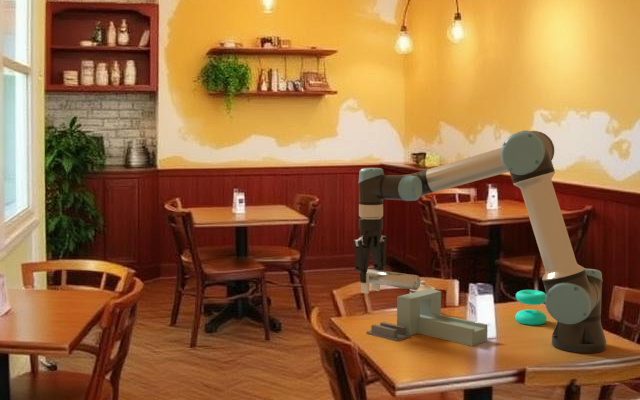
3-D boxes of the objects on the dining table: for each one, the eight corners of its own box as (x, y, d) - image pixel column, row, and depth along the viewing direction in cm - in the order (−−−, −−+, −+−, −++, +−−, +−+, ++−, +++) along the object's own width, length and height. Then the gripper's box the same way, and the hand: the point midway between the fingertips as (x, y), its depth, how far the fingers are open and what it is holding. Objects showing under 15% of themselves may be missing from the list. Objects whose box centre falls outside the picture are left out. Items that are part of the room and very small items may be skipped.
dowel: (419, 290, 227) (421, 275, 228) (411, 290, 224) (412, 275, 224) (368, 282, 241) (369, 268, 241) (359, 282, 238) (360, 268, 238)
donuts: (522, 287, 256) (552, 291, 250) (522, 316, 257) (551, 321, 251) (510, 292, 248) (540, 296, 242) (510, 322, 249) (539, 327, 243)
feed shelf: (487, 340, 228) (487, 324, 228) (472, 346, 222) (472, 329, 222) (433, 328, 242) (433, 312, 242) (417, 333, 237) (417, 317, 236)
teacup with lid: (434, 318, 254) (435, 284, 253) (407, 317, 256) (407, 283, 255) (437, 310, 266) (438, 277, 265) (411, 309, 268) (411, 276, 267)
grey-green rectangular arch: (440, 326, 245) (441, 291, 244) (409, 335, 234) (409, 299, 233) (428, 323, 249) (428, 288, 247) (396, 332, 237) (397, 296, 236)
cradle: (411, 336, 233) (411, 327, 232) (396, 341, 228) (396, 332, 228) (381, 329, 241) (381, 320, 241) (366, 333, 236) (366, 324, 236)
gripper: (380, 214, 245) (379, 285, 247) (342, 219, 233) (342, 294, 235) (398, 216, 240) (397, 289, 242) (360, 221, 228) (360, 297, 230)
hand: (370, 291), depth 239 cm, fingers closed on dowel, 4 cm apart
